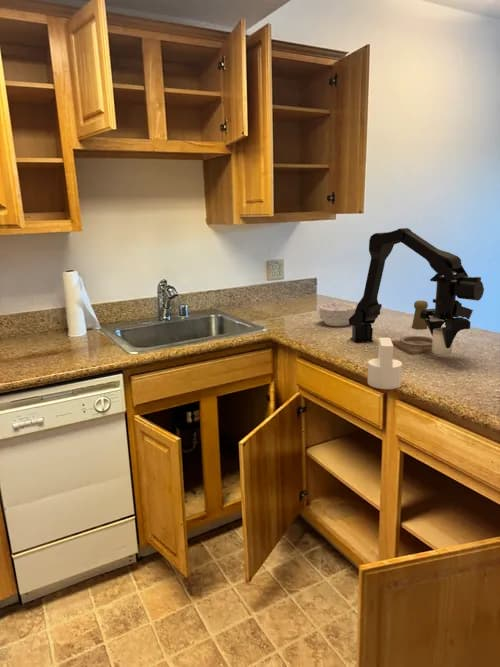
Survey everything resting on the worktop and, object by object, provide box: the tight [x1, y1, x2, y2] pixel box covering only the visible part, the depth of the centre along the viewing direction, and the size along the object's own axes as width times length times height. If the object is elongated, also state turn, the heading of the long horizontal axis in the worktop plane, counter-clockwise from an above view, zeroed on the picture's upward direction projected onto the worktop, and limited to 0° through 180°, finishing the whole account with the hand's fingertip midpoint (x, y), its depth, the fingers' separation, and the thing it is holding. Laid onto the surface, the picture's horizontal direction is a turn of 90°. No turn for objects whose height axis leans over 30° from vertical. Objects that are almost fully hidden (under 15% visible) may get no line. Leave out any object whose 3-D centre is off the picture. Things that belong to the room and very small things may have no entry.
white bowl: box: [318, 302, 357, 327], centre depth 202 cm, size 15×15×8 cm
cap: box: [432, 327, 454, 355], centre depth 150 cm, size 6×6×7 cm
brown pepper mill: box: [411, 300, 429, 330], centre depth 191 cm, size 6×6×11 cm
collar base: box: [391, 335, 434, 355], centre depth 165 cm, size 14×14×2 cm
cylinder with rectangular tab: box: [367, 337, 403, 390], centre depth 131 cm, size 9×9×12 cm
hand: (442, 345), depth 151 cm, fingers closed on cap, 6 cm apart
